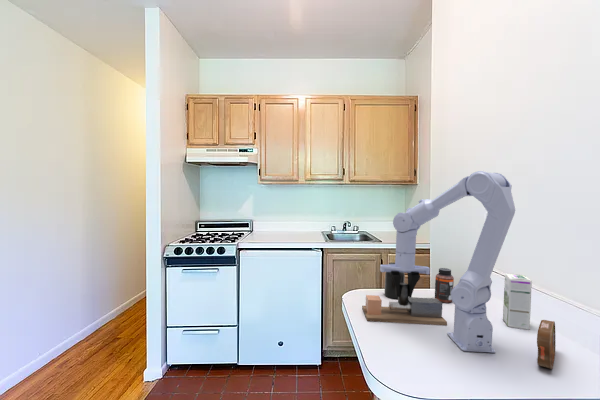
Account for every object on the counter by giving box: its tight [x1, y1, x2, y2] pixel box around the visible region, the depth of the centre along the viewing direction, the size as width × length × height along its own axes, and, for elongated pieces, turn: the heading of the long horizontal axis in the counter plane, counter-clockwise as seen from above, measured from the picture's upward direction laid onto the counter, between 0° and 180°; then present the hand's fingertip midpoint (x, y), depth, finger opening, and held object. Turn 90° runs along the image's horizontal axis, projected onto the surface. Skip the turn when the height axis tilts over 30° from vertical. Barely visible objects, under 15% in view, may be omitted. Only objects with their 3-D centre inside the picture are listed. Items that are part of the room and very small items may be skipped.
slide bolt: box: [388, 282, 411, 311], centre depth 100 cm, size 3×13×8 cm, turn 88°
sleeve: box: [408, 296, 443, 318], centre depth 100 cm, size 4×9×4 cm, turn 87°
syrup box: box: [502, 273, 533, 331], centre depth 97 cm, size 6×6×14 cm
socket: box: [364, 294, 383, 315], centre depth 100 cm, size 4×4×4 cm
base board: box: [362, 305, 448, 326], centre depth 100 cm, size 10×23×1 cm, turn 87°
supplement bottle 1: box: [384, 262, 406, 300], centre depth 119 cm, size 7×7×12 cm
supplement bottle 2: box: [434, 267, 455, 304], centre depth 116 cm, size 6×6×11 cm
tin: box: [536, 319, 556, 370], centre depth 77 cm, size 15×3×8 cm, turn 139°
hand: (403, 295), depth 100 cm, fingers closed on slide bolt, 3 cm apart
